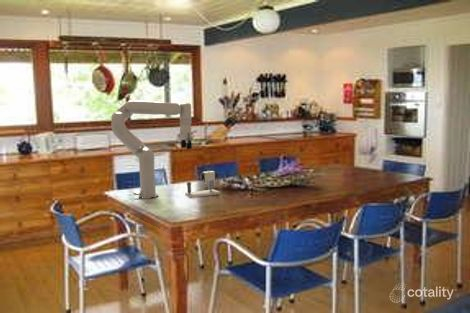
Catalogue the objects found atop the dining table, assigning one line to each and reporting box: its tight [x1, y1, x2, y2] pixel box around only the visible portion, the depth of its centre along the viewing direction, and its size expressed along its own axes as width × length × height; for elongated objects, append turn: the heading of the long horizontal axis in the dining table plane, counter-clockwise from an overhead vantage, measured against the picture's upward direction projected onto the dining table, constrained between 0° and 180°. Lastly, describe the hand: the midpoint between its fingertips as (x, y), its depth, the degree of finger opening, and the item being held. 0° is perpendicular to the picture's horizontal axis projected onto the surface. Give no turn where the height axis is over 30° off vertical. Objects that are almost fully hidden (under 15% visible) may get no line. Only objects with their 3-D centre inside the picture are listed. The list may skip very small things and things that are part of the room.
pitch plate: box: [184, 181, 221, 199], centre depth 323 cm, size 20×10×9 cm, turn 116°
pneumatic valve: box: [199, 169, 218, 189], centre depth 349 cm, size 6×12×12 cm, turn 113°
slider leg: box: [206, 179, 215, 191], centre depth 326 cm, size 3×3×7 cm
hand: (186, 148), depth 326 cm, fingers open, 9 cm apart
